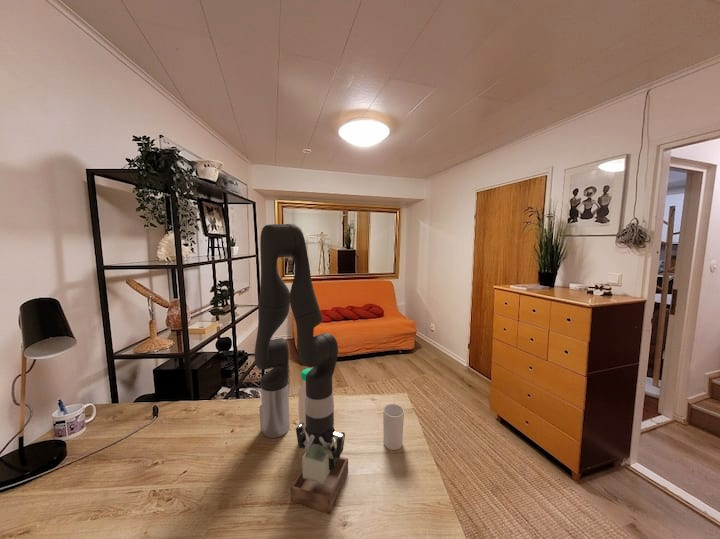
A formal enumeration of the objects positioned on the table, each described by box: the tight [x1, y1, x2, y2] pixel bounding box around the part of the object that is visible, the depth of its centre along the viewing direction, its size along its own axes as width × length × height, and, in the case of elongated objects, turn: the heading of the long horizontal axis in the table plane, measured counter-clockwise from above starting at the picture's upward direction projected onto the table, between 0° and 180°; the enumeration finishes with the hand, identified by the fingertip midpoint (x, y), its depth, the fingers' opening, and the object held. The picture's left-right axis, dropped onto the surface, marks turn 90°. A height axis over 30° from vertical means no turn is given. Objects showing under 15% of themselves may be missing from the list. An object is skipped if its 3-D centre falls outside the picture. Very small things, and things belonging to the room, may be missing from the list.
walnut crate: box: [290, 456, 349, 515], centre depth 75 cm, size 11×13×4 cm
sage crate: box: [301, 437, 337, 484], centre depth 74 cm, size 6×9×6 cm, turn 162°
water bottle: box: [297, 367, 312, 442], centre depth 90 cm, size 7×7×25 cm
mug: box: [382, 402, 405, 451], centre depth 91 cm, size 10×7×12 cm, turn 171°
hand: (320, 464), depth 74 cm, fingers closed on sage crate, 6 cm apart
